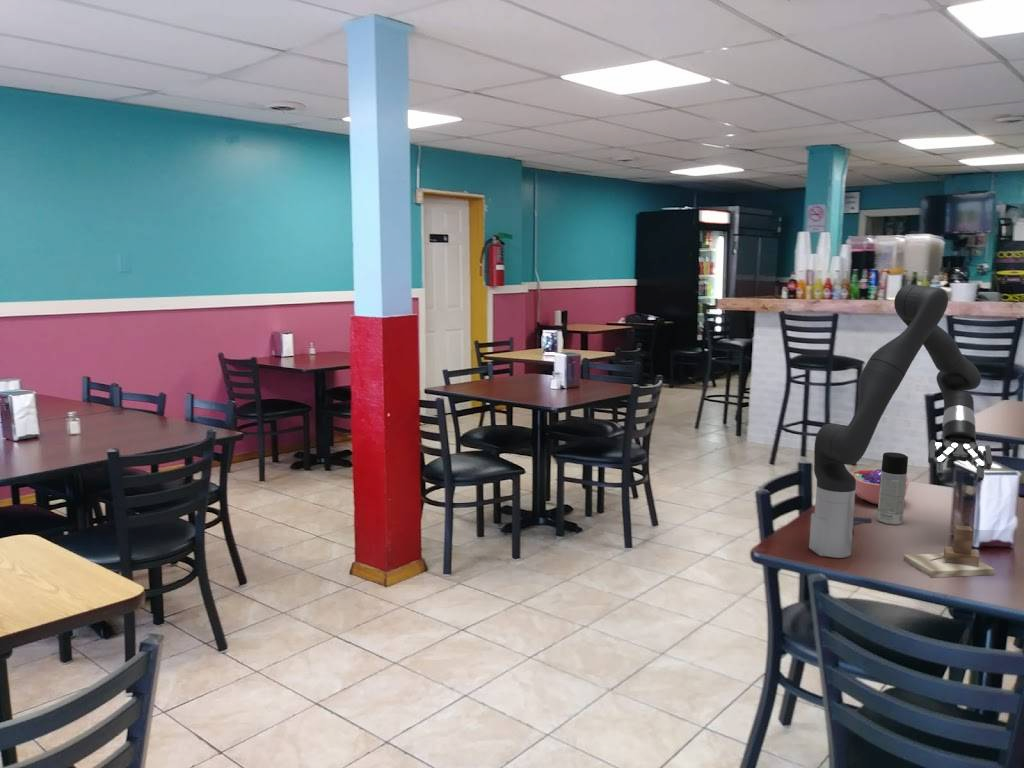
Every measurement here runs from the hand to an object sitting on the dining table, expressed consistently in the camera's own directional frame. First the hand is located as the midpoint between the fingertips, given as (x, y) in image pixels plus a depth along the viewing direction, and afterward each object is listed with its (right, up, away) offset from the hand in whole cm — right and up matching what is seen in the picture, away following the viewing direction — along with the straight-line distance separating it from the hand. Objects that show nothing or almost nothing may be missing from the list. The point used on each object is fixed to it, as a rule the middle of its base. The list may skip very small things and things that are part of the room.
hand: (959, 478), depth 199 cm
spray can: (-4, -16, +28) cm, 33 cm away
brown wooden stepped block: (-4, -19, -7) cm, 21 cm away
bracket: (-19, -17, +24) cm, 35 cm away
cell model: (+1, -13, +48) cm, 50 cm away
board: (-7, -21, -7) cm, 23 cm away
